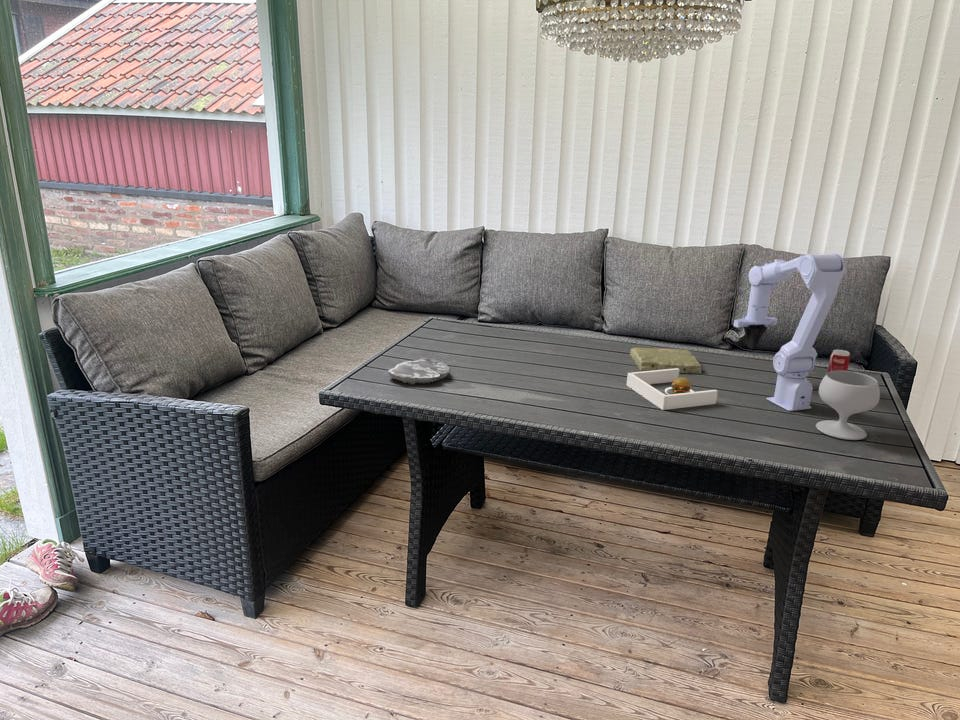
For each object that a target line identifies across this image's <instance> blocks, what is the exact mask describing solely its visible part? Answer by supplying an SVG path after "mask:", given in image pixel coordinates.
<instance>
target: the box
mask: <svg viewBox="0 0 960 720" xmlns="http://www.w3.org/2000/svg"><path fill="white" fill-rule="evenodd" d="M679 375H680V373H679V369H678V368H674V369H664V370H653V371H636V372H632V371H631V372H627V378H626V387H628V388H630V389H631V388H632V389H631V390H633V392H636V393H637V394H639V395H640V396H641V395H642V396H641V397H643V398H644V399H646V400H647V401H649V402H650V403H651V404H653V405H654V406H656V407H657V408H659V409H661V410H662V411H666V410H676V409H682V408H683V409H684V408H692V407H700V406H701V407H702V406H710V405H716V404H717V399H718V392H719V391H718V389H710V390H701V391H694V392H689V393H680V394H674V393H673V394H669V395H668V394H666V393H663V392H661V390H658V389H656V388H655V387H654V386H652V385H655V384H656V385H657V384H664V383H673V381H674V380H675V379H676V378H679Z"/></svg>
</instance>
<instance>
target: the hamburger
mask: <svg viewBox="0 0 960 720" xmlns="http://www.w3.org/2000/svg"><path fill="white" fill-rule="evenodd" d="M691 388H692V385H691V381H690V380H689V379H688V377H687V378H686V377H681V376H680V377H678V378H676V379H675V380H674V381H673V382H671V386H670V387H666V388H665V389H664V393H665V394H666V395H670V394H669V393H668V392H669V391H672V393H673V394H680V393H689V392H695V391H694V390H693V389H691Z"/></svg>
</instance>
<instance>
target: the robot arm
mask: <svg viewBox="0 0 960 720" xmlns="http://www.w3.org/2000/svg"><path fill="white" fill-rule="evenodd" d="M846 271H847V269H846V265H845V261H844V258H843V257H842V255H841V254H838V253H833V254H809V253H808V254H804V255H799V256H798V257H796V258H793V259H792V260H788V261H787V260H783V259H782V258H775V259H774V261H773V262H771V263H770V262H766V263H764V265H763V266H758V265H754V266H752V267H751V268H750V270H749V272H748V280H749V284H751V285H750V286H751V287H750V293H749V298H748V303H747V304H748V305H747V312H746V315H745V317H743V318H739V319H734V322H733V327H734V328H736V329H737V328H741V327H742V328H743V330H744V333H745V336H746V342H747V347H748V348H749V349H751V350H755V349H756V348H757V346H758V345H759V342H760V340H761V339H762V336H763V335H764V334H765V333H766V332H767V330H768V328H767V326H768V325H773V326H777V324H778V318H777V317H774V316H772V317H771V316H769V317H768V312H769V304H770V301H771V300H770V299H771V293H772V292H773V290H774V286H775V285H776V284H777V282H781V281H784V280H787V279H788V278H790V276H791V274H794V273H797V272H798V273H800V276H801V278H802V281H803V282H804V284H805V286H806V288H807V289H808V290H809V291H811V293H812V294H811V296H810V298H809V301H808V302H807V305H806V306H805V307H806V308H805V310H804V312H803V314H802V315H801V316H802V317H801V318H800V321H799V323H798V326H797V327H796V330H795V332H794V335H793V337H792V339H791V340H790V341H788V342H787V343H785V344H783V345H782V346H781V347H780V349H779V351H777V352H776V353H775V355H774V357H773V359H772V365H773V368H774V371H775V373H777V377H776V381H775V382H776V383H775V390H774V395H773V396H769V397H766V400H767V401H768V402H771V403H773V404H775V405H777V406H778V407H780V408H782V409H784V410H785V411H788V412H794V411H801V410H810V409H812V406H811V405H810V404H811V400H812V399H811V398H812V393H813V385H812V383H811V381H809V380H808V379H807V377H808V376H809V373H811V372H812V371H813V370H814V369H815V366H816V359H817V356H818V353H817V350H816V349H815V348H814V347H813V345H814V344H815V342H816V339H817V337H818V335H819V333H820V331H821V329H822V327H823V324H824V323H825V320H826V318H827V316H828V314H829V312H830V309H831V307H832V306H833V303H834V302H835V300H836V297H837V294H838V289H839V285H841V281H842V280H843V277H844V275H845V273H846ZM766 325H767V326H766Z"/></svg>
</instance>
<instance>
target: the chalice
mask: <svg viewBox="0 0 960 720" xmlns="http://www.w3.org/2000/svg"><path fill="white" fill-rule="evenodd" d="M827 372H828V371H827ZM880 390H881V389H880V386H879V382H878V380H877V379H876V378H874V377H873V376H870V375H867V374H865V373H862V372H858V371H857V372H856V371H850V370H847V371H843V370H837V371H830V372H828V373H826V375H824V377H823V378H822V379H821V381H820V384H819V387H818V395H819V397H820V399H821V400H822V401H823V402H824V403H825V404H826V405H828V406H829V407H830V408H832V409H833V410H835V411H836V412H837V414H838V415H839V416H838V417H839V418H838V420H835V419H834V420H831V419H828V420H821V421H818V422H817V423H815V428H816V429H817V430H818V431H819V432H821V433H822V434H825V435H827V436H830V437H833V438H837V439H841V440H849V441H857V440H858V441H859V440H864V439H866V438H867V437H868V433H867V432H866V431H865V430H864V429H863V428H861V427H859V426H857V425H856V424H853V423H849V422H848V419H849V417H851V416H853V415H854V414H860V413H864V412H868V411H870V410H872V409H874V408H875V407H877V405H878V403H879V402H880V400H881V399H880V398H881V391H880Z"/></svg>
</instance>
